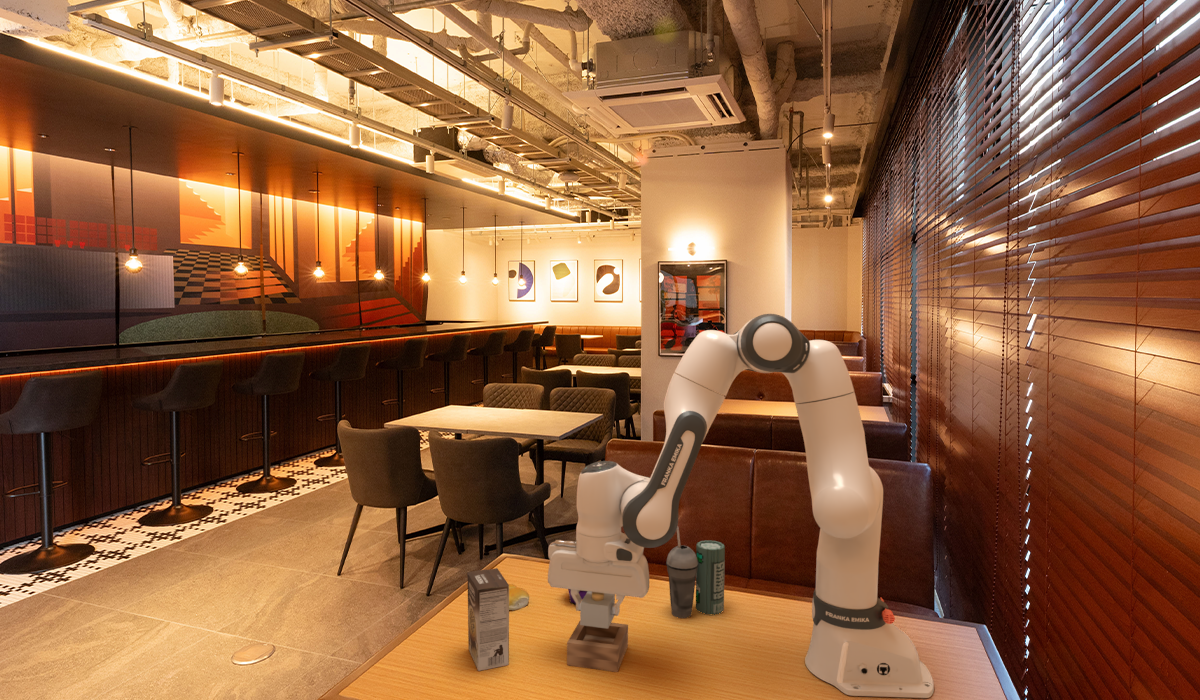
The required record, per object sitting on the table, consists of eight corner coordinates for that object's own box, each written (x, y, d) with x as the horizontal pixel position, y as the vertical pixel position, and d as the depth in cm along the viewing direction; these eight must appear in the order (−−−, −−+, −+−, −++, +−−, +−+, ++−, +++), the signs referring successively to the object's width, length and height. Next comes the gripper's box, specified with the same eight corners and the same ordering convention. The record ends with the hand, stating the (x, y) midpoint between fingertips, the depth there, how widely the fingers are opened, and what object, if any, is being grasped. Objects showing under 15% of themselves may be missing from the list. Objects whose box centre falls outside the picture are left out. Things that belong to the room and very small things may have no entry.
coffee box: (467, 649, 133) (466, 571, 132) (498, 643, 135) (497, 566, 134) (477, 672, 124) (476, 589, 123) (510, 665, 127) (509, 583, 126)
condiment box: (627, 645, 134) (628, 624, 134) (617, 672, 125) (617, 649, 124) (580, 639, 137) (580, 618, 136) (567, 665, 127) (567, 642, 127)
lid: (614, 615, 132) (614, 588, 132) (608, 628, 127) (608, 600, 127) (587, 612, 134) (588, 584, 133) (580, 625, 128) (580, 596, 128)
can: (706, 600, 155) (707, 538, 154) (728, 608, 151) (729, 545, 150) (691, 608, 151) (691, 545, 150) (713, 617, 147) (714, 552, 146)
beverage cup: (696, 622, 144) (698, 533, 143) (663, 619, 146) (664, 531, 145) (698, 608, 151) (699, 523, 150) (667, 605, 153) (668, 520, 152)
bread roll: (511, 592, 160) (511, 576, 160) (534, 604, 154) (534, 587, 153) (483, 602, 154) (483, 586, 154) (506, 615, 148) (506, 598, 148)
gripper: (543, 544, 129) (542, 612, 130) (646, 555, 124) (644, 625, 125) (553, 533, 135) (552, 599, 136) (651, 543, 130) (650, 611, 131)
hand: (597, 612), depth 130 cm, fingers closed on lid, 6 cm apart
